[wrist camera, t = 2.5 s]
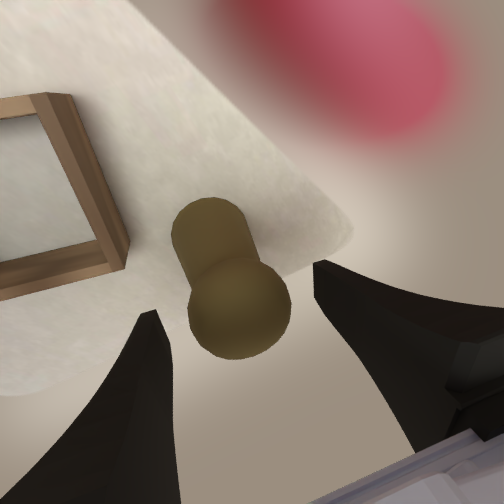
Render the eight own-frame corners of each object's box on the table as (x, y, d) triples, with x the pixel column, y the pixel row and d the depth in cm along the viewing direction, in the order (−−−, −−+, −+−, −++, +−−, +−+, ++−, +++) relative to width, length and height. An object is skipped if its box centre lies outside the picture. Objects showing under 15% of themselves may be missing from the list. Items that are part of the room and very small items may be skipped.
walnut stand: (-15, 276, 19) (-53, 315, 15) (-133, 123, 14) (-227, 130, 10) (130, 241, 20) (124, 269, 17) (70, 94, 15) (45, 92, 12)
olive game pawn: (253, 256, 24) (313, 353, 15) (183, 276, 23) (201, 395, 14) (240, 188, 21) (306, 258, 12) (160, 208, 20) (161, 303, 11)
